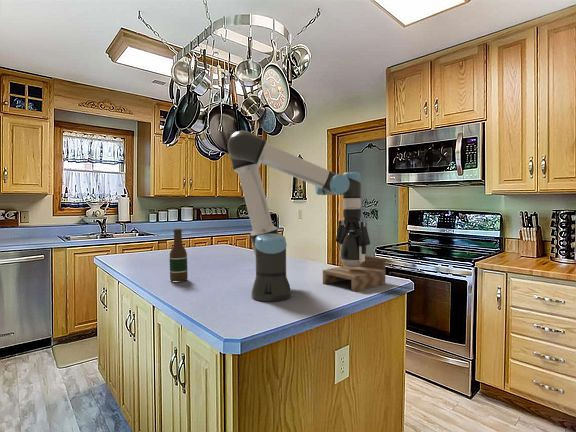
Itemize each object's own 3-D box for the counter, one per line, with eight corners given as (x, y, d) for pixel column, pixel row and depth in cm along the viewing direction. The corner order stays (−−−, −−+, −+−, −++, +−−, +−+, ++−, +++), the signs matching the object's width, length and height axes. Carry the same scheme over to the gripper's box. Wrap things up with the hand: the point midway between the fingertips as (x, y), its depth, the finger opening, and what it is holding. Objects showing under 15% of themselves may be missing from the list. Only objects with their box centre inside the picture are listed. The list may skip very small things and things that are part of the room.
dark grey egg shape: (346, 269, 147) (346, 232, 147) (336, 264, 157) (336, 230, 157) (369, 267, 150) (368, 231, 149) (357, 263, 160) (357, 229, 159)
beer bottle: (188, 281, 163) (187, 229, 162) (170, 283, 160) (169, 230, 159) (186, 278, 170) (185, 228, 169) (169, 279, 167) (168, 228, 166)
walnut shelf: (354, 291, 142) (354, 264, 141) (322, 283, 156) (322, 258, 155) (385, 283, 154) (385, 258, 153) (353, 277, 168) (353, 253, 167)
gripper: (379, 208, 146) (379, 262, 147) (338, 208, 164) (339, 255, 165) (367, 209, 141) (367, 264, 142) (327, 208, 159) (327, 257, 160)
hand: (352, 259), depth 154 cm, fingers closed on dark grey egg shape, 10 cm apart
